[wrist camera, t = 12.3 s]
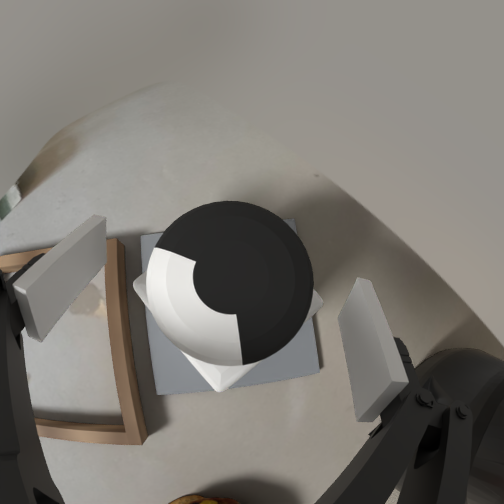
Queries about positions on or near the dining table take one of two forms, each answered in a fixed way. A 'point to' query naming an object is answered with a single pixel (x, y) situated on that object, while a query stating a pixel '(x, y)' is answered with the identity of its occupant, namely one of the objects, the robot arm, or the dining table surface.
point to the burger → (203, 500)
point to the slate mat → (268, 370)
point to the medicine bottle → (229, 288)
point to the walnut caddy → (121, 357)
